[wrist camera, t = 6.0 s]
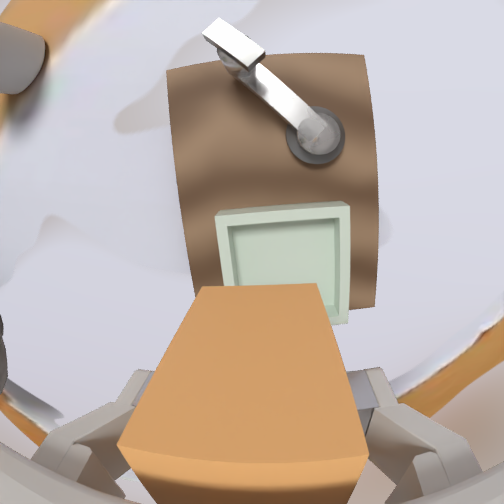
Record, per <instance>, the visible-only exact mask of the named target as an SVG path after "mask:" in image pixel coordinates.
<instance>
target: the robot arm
mask: <svg viewBox="0 0 504 504" xmlns="http://www.w3.org/2000/svg"><path fill="white" fill-rule="evenodd" d="M154 372H155V371H149V370H141V369H138V370H136V371H135V372H134V373H133V375H132V377H131V378H130V379H129V381H128V383H127V384H126V386H125V387H124V389H123V391H122V392H121V394H120V395H119V397H118V399H117V400H116V402H115V403H114V402H110V403H107V404H106V405H104V406H102V407H100V408H98V409H96V410H94V411H92V412H90V413H88V414H86V415H84V416H82V417H80V418H78V419H76V420H74V421H72V422H70V423H67V424H65V425H63V426H61V427H59V428H57V429H55V430H53V431H50V433H49V434H48V436H47V437H46V438H45V440H44V441H43V443H42V444H41V445H40V447H39V448H38V450H37V451H36V452H35V454H34V455H33V457H32V458H31V460H30V459H28V458H26V457H24V456H22V455H21V454H19V453H18V452H16V451H14V450H12V449H11V448H9V447H8V446H6V445H4V444H3V443H1V442H0V504H140V503H136V502H133V501H129V500H126V499H124V498H125V494H124V492H123V490H122V489H121V488H120V487H119V486H118V485H117V483H116V482H115V480H116V479H117V478H119V477H120V476H121V475H123V474H124V473H125V472H126V471H128V470H129V469H130V468H131V467H130V465H129V464H128V462H127V461H126V459H125V458H124V456H123V455H122V453H121V451H120V450H119V448H118V446H117V443H118V441H119V439H120V437H121V435H122V433H123V431H124V429H125V427H126V425H127V423H128V421H129V419H130V417H131V415H132V414H133V412H134V410H135V408H136V406H137V404H138V402H139V400H140V398H141V396H142V395H143V393H144V391H145V389H146V387H147V385H148V383H149V381H150V380H151V378H152V376H153V374H154ZM346 374H347V377H348V380H349V383H350V387H351V390H352V393H353V397H354V400H355V404H356V407H357V411H358V414H359V418H360V421H361V425H362V428H363V432H364V436H365V439H366V443H367V447H368V451H369V456H368V459H369V460H370V461H372V462H373V463H374V464H375V465H376V466H377V467H378V468H379V469H380V470H381V471H382V472H383V473H384V474H385V475H386V476H388V477H389V478H390V479H391V480H392V481H393V482H394V483H395V484H396V485H397V486H396V488H395V489H394V490H393V492H392V493H391V495H390V496H389V497H388V499H387V500H386V501H385V504H504V461H503V462H501V463H500V464H498V465H496V466H494V467H492V468H490V469H488V470H486V471H484V472H482V469H481V467H480V465H479V464H478V461H477V459H476V457H475V455H474V454H473V451H472V450H471V448H470V446H469V444H468V442H467V440H466V439H465V438H464V437H462V436H460V435H458V434H457V433H455V432H453V431H451V430H449V429H448V428H446V427H444V426H442V425H440V424H439V423H437V422H435V421H433V420H431V419H430V418H428V417H426V416H425V415H423V414H421V413H419V412H418V411H416V410H414V409H413V408H411V407H409V406H407V405H406V404H404V403H401V404H398V402H397V399H396V397H395V395H394V393H393V391H392V389H391V386H390V384H389V382H388V380H387V378H386V376H385V374H384V372H383V370H382V369H381V368H380V367H377V368H371V369H364V370H358V371H350V372H346Z"/></svg>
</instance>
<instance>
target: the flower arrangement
mask: <svg viewBox="0 0 504 504" xmlns="http://www.w3.org/2000/svg"><path fill="white" fill-rule="evenodd" d="M2 335H3V322H2V318H1V315H0V394H1V393H2V391H3V388H4V385H5V382H6V380H7V377H8V373H7V372H8V371H7V358H6V349H5V345H4V342H3V339H2Z"/></svg>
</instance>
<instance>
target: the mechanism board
mask: <svg viewBox="0 0 504 504" xmlns="http://www.w3.org/2000/svg"><path fill="white" fill-rule="evenodd" d="M259 64H261V65H262V66H263V67H264V68H266V69H267V70H268V71H269V72H271V73H272V74H273V75H274V76H275V77H277V78H278V79H279V80H280V81H281V82H282V83H284V84H285V85H286V86H287V87H288V88H289V89H290V90H292V91H293V92H294V93H295V94H296V95H297V96H298V97H299V98H300V99H302V100H303V101H304V102H305V103H306V104H307V105H308V106H309V107H310V108H311V109H312V110H313V111H314V112H315V113H324V114H327V115H329V116H330V117H332V118H333V119H334V120H335V121H336V123H337V124H338V126H339V129H340V141H339V143H338V145H337V147H336V148H335V149H334V150H333V151H331V152H329V153H327V154H322V155H314V154H311V153H308V152H306V151H305V150H304V149H302V147H301V146H300V145H299V143H298V141H297V137H296V131H295V130H294V129H293V128H292V127H291V126H290V125H289V124H288V123H287V122H286V121H285V120H283V119H282V118H281V117H280V116H279V115H278V114H277V113H276V112H275V111H274V110H272V109H271V108H270V107H269V106H268V105H267V104H266V103H264V102H263V101H262V100H261V99H260V98H259V97H258V96H256V95H255V94H254V93H253V92H252V91H250V90H249V89H248V88H247V87H246V86H244V85H243V84H242V83H241V82H240V81H238V80H237V79H236V78H235V77H233V76H232V75H230V74H229V73H228V72H227V71H226V69H225V67H224V65H223V63H222V61H221V60H218V61H212V62H206V63H200V64H195V65H190V66H185V67H180V68H175V69H171V70H166V74H167V89H168V102H169V113H170V125H171V135H172V144H173V153H174V162H175V171H176V179H177V186H178V194H179V201H180V208H181V215H182V222H183V228H184V235H185V241H186V247H187V253H188V259H189V265H190V270H191V276H192V281H193V287H194V292H195V297H196V296H197V295H198V293H199V291H200V289H201V288H202V286H224V282H223V275H222V268H221V261H220V254H219V246H218V239H217V232H216V224H215V215H216V214H217V213H218V212H219V211H220V210H227V209H237V208H248V207H259V206H271V205H284V204H297V203H312V202H328V201H343V202H344V203H346V204H348V205H349V206H350V292H349V310H353V309H361V308H370V307H375V295H376V281H377V263H378V232H379V203H378V174H377V173H378V172H377V154H376V141H375V130H374V120H373V112H372V103H371V95H370V88H369V81H368V76H367V69H366V64H365V58H364V55H356V54H337V53H293V54H273V55H265V58H264V59H263V60H262V61H261V62H260V63H259Z"/></svg>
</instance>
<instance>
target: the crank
mask: <svg viewBox="0 0 504 504" xmlns="http://www.w3.org/2000/svg"><path fill="white" fill-rule="evenodd" d="M202 34H203V36H204V38H205V39H206V41H208V42H209V43H211V44H212V45H214V46H215V47H216V48H217V53H218V55H219V58H220V59H221V61H222V63H223V65H224V67H225V69H226V71H227V72H228V73H229V74H230V75H232V76H233V77H235V78H236V79H237V80H238V81H240V82H241V83H242V84H243V85H244V86H246V87H247V88H248V89H249V90H250V91H252V92H253V93H254V94H255V95H256V96H258V97H259V98H260V99H261V100H262V101H263V102H264V103H266V104H267V105H268V106H269V107H270V108H271V109H272V110H274V111H275V112H276V113H277V114H278V115H279V116H280V117H281V118H282V119H283V120H285V121H286V122H287V123H288V124H289V125H290V126H291V127H292V128H293V129H294V130H295V131H296V137H297V141H298V143H299V145H300V146H301V147H302V149H304V150H305V151H306V152H308V153H311V154H314V155H322V154H327V153H329V152H331V151H333V150H334V149H335V148H336V147H337V145H338V143H339V141H340V129H339V126H338V124H337V123H336V121H335V120H334V119H333V118H332V117H330V116H329V115H327V114H324V113H315V112H314V111H313V110H312V109H311V108H310V107H309V106H308V105H307V104H306V103H305V102H304V101H303V100H302V99H300V98H299V97H298V96H297V95H296V94H295V93H294V92H293V91H292V90H290V89H289V88H288V87H287V86H286V85H285V84H284V83H282V82H281V81H280V80H279V79H278V78H277V77H275V76H274V75H273V74H272V73H271V72H269V71H268V70H267V69H266V68H264V67H263V66H262V65H261V64H259V63H260V62H261V61H262V60H263V59H264V58H265V50H263V49H262V48H261V47H259V46H258V45H257V44H256V43H254V42H253V41H252V40H251V39H250V38H249V37H248V36H246V35H244V34H242V33H241V32H239V31H238V30H236V29H235V28H233V27H232V26H230V25H229V24H227V23H226V22H225V21H223V20H221V19H220V18H218V19H217V20H216V21H215V22H214V23H213V24H211V25H210V26H209V27H208V28H207V29H206V30H205V31H204V32H202Z"/></svg>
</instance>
